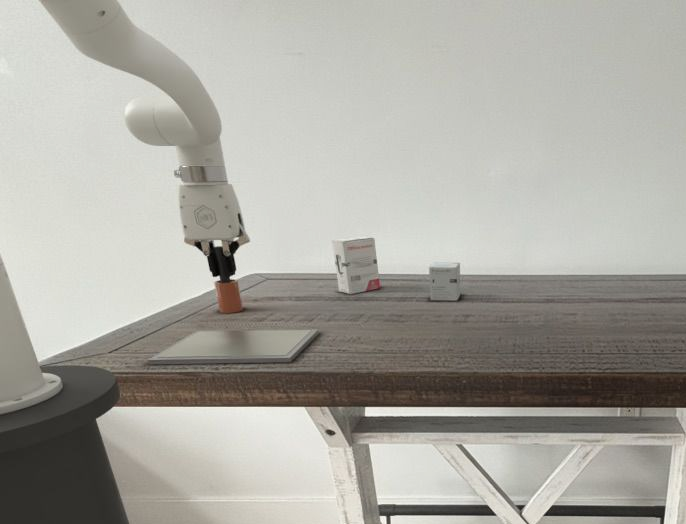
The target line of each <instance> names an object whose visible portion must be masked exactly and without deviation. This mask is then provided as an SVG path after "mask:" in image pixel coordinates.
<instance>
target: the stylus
mask: <svg viewBox="0 0 686 524" xmlns="http://www.w3.org/2000/svg"><path fill="white" fill-rule="evenodd" d="M214 252H215V257H216V262H217V267H218V272H219V276H218V277H219V280H220V282H221V283H229V282H231V281H230V279H231V276H230V277H226V276H225V273H224V268H223V263H222V256H224V254H223V247H222V245H218V246H215V247H214Z"/></svg>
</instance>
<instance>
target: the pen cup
mask: <svg viewBox="0 0 686 524" xmlns="http://www.w3.org/2000/svg"><path fill="white" fill-rule="evenodd" d="M230 281H231V282H229V283H221V282H220V279H219V280H215V281H214V282H213V285H214V289H215V295H216V299H217V303H218V309H219V312H220V313H222V314H235V313H238V312H242V311H243V310H244V308H243V302H242V301H243V300H242V296H241V290H240V286H239V281H238V279H234V278H230Z"/></svg>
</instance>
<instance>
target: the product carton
mask: <svg viewBox="0 0 686 524" xmlns="http://www.w3.org/2000/svg"><path fill="white" fill-rule="evenodd" d="M428 270H429V271H428V273H429V294H430V297H429V298H430V301H450V302H451V301H453V302H454V301H455V302H456V301H458V300H459V298H460V296H461V263H460V262H448V261H447V262H435V261H434V262H432V264H430V265H429V267H428Z"/></svg>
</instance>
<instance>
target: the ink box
mask: <svg viewBox="0 0 686 524" xmlns="http://www.w3.org/2000/svg"><path fill="white" fill-rule="evenodd" d="M331 244H332V249H333V250H332V251H333V258H334V264H335V271H336V279H337V285H338V292H340V293H343V294H348V295H355V294H359V293H364V292H370V291H373V290H378V289H379V290H380V289H381V284H380V276H379V267H378V266H379V265H378V259H377V258H378V257H377V249H376V248H377V247H376V242H375V237H373V236H359V237H351V238H341V239H340V238H339V239H333V240H331Z"/></svg>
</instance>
